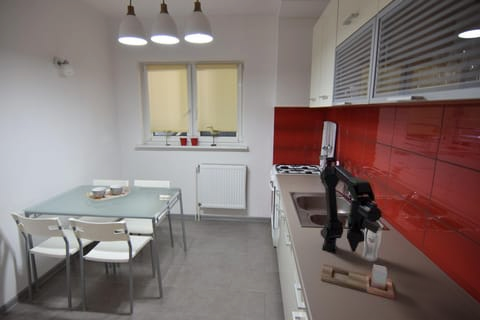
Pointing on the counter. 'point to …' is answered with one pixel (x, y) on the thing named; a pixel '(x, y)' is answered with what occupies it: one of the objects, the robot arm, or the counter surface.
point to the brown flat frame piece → (355, 281)
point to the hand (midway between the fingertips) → (353, 246)
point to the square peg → (379, 277)
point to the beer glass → (371, 244)
